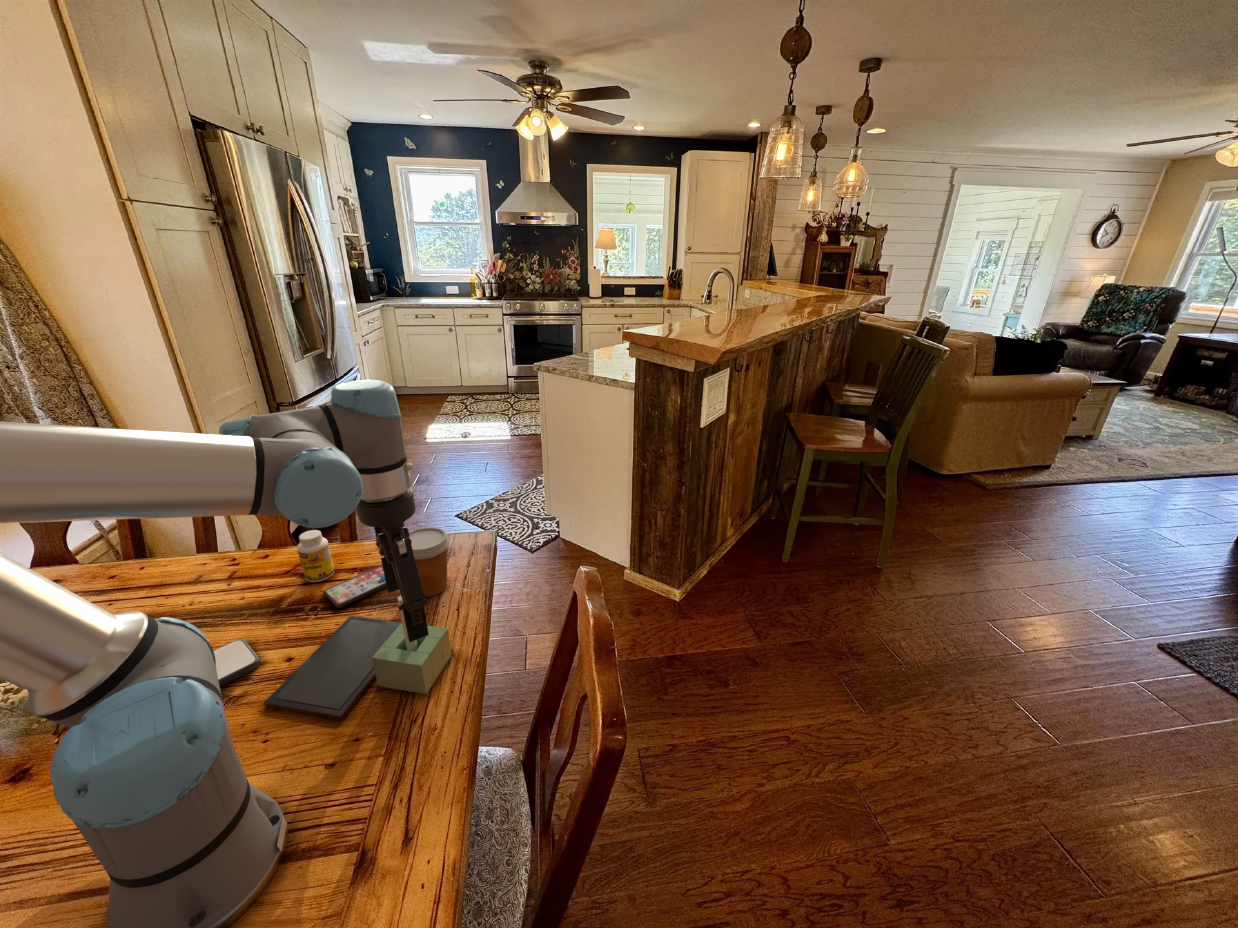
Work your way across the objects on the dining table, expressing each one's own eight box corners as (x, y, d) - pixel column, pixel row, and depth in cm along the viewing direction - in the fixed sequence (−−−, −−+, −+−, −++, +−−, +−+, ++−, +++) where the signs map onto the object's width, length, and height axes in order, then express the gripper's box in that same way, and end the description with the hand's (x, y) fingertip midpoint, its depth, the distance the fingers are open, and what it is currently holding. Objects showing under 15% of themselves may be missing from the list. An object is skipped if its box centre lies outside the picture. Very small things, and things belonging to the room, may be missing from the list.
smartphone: (321, 590, 99) (393, 559, 110) (322, 594, 100) (394, 562, 110) (337, 606, 95) (410, 572, 105) (338, 610, 95) (411, 575, 106)
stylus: (418, 674, 81) (404, 601, 76) (409, 673, 82) (395, 599, 76) (423, 667, 83) (410, 594, 77) (414, 665, 83) (401, 593, 77)
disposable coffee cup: (464, 578, 106) (458, 530, 101) (436, 606, 97) (428, 555, 92) (426, 569, 108) (419, 522, 103) (396, 595, 100) (386, 545, 95)
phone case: (244, 643, 87) (122, 699, 75) (242, 635, 87) (118, 692, 75) (263, 667, 82) (135, 732, 71) (261, 660, 82) (132, 724, 70)
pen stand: (426, 694, 78) (421, 665, 75) (378, 686, 79) (371, 657, 77) (451, 655, 85) (447, 628, 83) (407, 648, 87) (402, 621, 84)
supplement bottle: (299, 583, 103) (288, 541, 99) (314, 567, 108) (303, 527, 104) (326, 583, 103) (316, 541, 99) (340, 568, 108) (330, 527, 104)
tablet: (341, 721, 73) (340, 715, 73) (265, 707, 75) (263, 701, 74) (415, 628, 91) (414, 624, 91) (351, 619, 93) (350, 614, 93)
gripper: (437, 520, 62) (456, 650, 70) (391, 457, 81) (411, 565, 89) (372, 538, 58) (401, 673, 66) (340, 467, 76) (365, 579, 85)
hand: (407, 611), depth 78 cm, fingers open, 13 cm apart
